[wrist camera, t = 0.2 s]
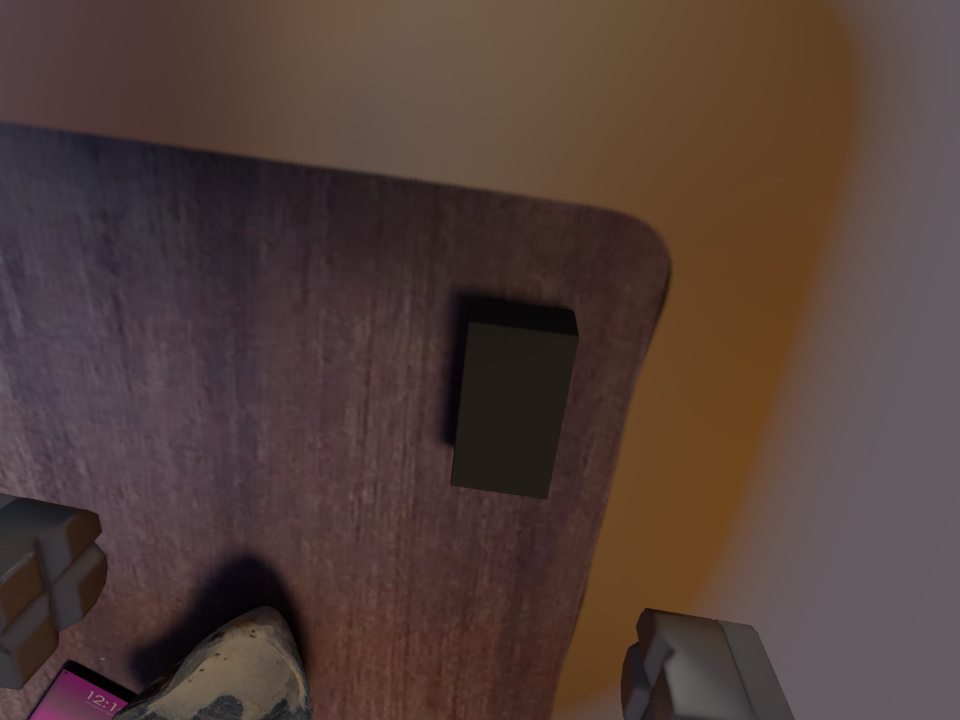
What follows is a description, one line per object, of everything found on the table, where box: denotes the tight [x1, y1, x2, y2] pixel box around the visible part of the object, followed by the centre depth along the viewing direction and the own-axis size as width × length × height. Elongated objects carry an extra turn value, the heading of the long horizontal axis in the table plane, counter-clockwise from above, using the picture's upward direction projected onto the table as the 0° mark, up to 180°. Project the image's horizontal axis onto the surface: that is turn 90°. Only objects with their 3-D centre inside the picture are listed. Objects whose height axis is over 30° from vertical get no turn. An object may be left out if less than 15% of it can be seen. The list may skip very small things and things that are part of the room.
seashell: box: [111, 606, 313, 720], centre depth 34 cm, size 15×12×5 cm
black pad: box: [451, 298, 579, 499], centre depth 26 cm, size 8×4×3 cm, turn 174°
